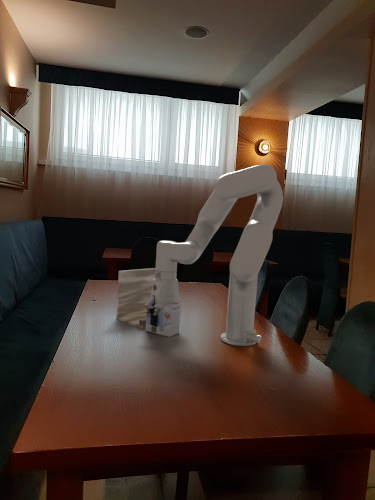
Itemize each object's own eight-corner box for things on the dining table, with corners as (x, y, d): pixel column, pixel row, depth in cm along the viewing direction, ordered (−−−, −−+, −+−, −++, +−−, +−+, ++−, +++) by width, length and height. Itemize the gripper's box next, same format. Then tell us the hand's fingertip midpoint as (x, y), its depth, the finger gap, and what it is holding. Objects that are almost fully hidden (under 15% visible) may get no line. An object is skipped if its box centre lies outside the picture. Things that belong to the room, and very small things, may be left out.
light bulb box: (144, 331, 138) (146, 301, 137) (155, 326, 144) (156, 298, 143) (170, 337, 133) (172, 306, 132) (180, 332, 139) (181, 303, 138)
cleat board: (177, 321, 153) (180, 274, 151) (141, 328, 140) (144, 277, 139) (151, 312, 164) (154, 268, 162) (116, 318, 152) (118, 270, 150)
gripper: (153, 279, 128) (150, 330, 129) (190, 275, 140) (187, 322, 142) (139, 275, 133) (137, 325, 134) (176, 272, 145) (173, 317, 147)
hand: (162, 323), depth 138 cm, fingers closed on light bulb box, 8 cm apart
